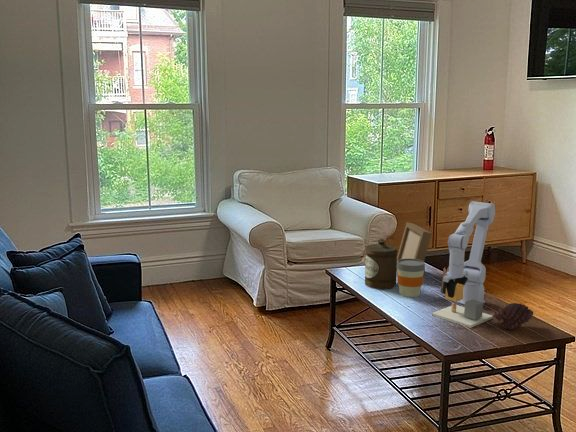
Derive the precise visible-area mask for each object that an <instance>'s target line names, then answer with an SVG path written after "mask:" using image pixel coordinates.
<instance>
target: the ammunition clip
mask: <svg viewBox="0 0 576 432" xmlns="http://www.w3.org/2000/svg"><path fill="white" fill-rule="evenodd" d="M447 272H449V266H448V267H447V269H446V267H443V271H442V277H441V279H442V280H441V284H440V285H441V286H440V293H441V294H443V295H446V286H445V284H444V282H443V277H444V276H446V275H447ZM453 281H454V282H455V280H454V279H453Z"/></svg>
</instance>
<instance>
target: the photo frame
mask: <svg viewBox="0 0 576 432" xmlns="http://www.w3.org/2000/svg"><path fill="white" fill-rule="evenodd" d="M432 234H433V233H432V232H430V231H428V230H426V229H425V228H423V227H421V226H419V225H417V224H415V223H411V222H407V221H406V224H405V226H404V230H403V235H402V238H401V242H400V244H399V249H398V251H397V261H398V260H400V259H407V258H410V259H418V260H422V261H424V262H425V258H426V255H427V252H428V248H429V245H430V241H431V238H432ZM425 272H426V269H425V270H424V273H423V274H424V275H425Z"/></svg>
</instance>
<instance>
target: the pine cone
mask: <svg viewBox="0 0 576 432" xmlns="http://www.w3.org/2000/svg"><path fill="white" fill-rule="evenodd" d="M493 313H494V314H493V315H492V316H493V318H495V320H497V321H498V322H500V324H501V326H502V327H504V328H507V329H508V330H509V329H511V330H514V329H517V328H519V327H521V326H522V325H524V324H526V323H528V322H529V320H531V319H532V317H533V316H534V310H532V309H529V306H527V305H526V304H524V303H523V304H522V303H517V302H513V303H508V304H506V305H505V306H503V309H501V308H499V309H498V311H497V312H496V311H495V312H493Z"/></svg>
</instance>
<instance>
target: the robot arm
mask: <svg viewBox="0 0 576 432" xmlns="http://www.w3.org/2000/svg"><path fill="white" fill-rule="evenodd" d="M467 211H468V215H467V217H466V219H465V221H462V222H461V223H460V224H459V226H458V227H457V229H455V232H454V233H452V234H449V236H448V239H447V245H448V252H449V260H448V261H449V263H448V267H449V272H447V271H446V276H444V277H443V276H442V277H443V282H444V284H445V286H446V289H447V293H448V297H451V298H453V297H454V292H455V287H456V285H457V283H458V284H462V285H464V290H463V299H462V300H459V301H457V303H458V304H461V305H464V306H465V302H467V301H469V300H476V301H480V302H483V304H485V303H486V301H485V300H484V299H485V298H484V297H485V286H484V283H485V281H486V273H487V272H486V271H487V268H486V266H485V265H484V264H483V263H482V258H483V253H484V248H485V243H486V238H487V234H488V230H489V227H490V225H491V224H493V223H494V220H495V215H496V205H495V204H494V203H493V202H491V203H489V202H481V201H474V200H472V201H470V203H469V205H468V210H467ZM475 224H476V227H475V231H474V226H475ZM472 233H474V236H473V240H472V245H471V249H470V253H469V258H468V260H466V261H465V254H466V253H465V252H466V251H465V250H466V249H467V247H468V245H469V238H470V236H471V235H472ZM453 279H454V280H455V282H454V281H453Z"/></svg>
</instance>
